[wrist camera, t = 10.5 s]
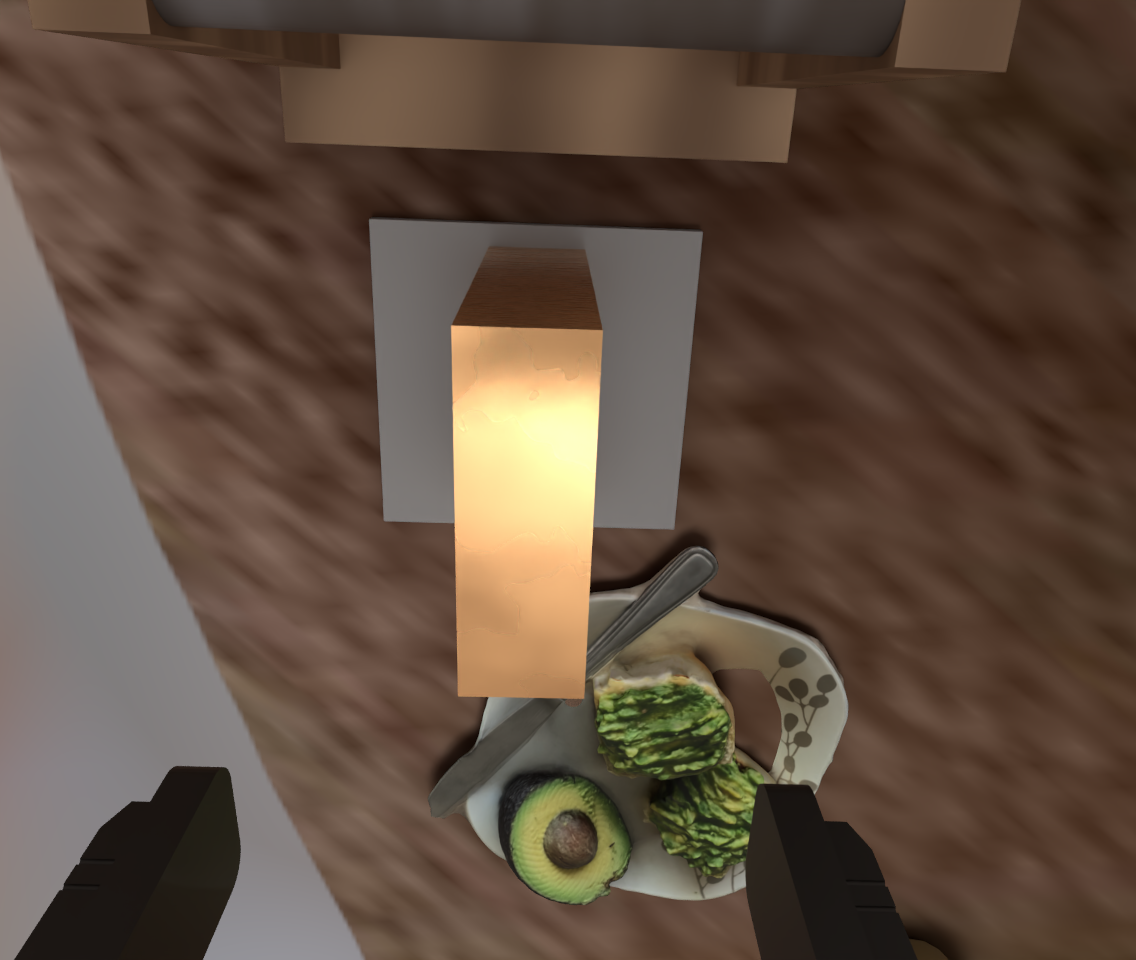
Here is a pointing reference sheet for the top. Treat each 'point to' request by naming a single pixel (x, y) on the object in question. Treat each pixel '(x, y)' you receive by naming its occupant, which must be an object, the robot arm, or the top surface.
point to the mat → (628, 366)
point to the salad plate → (646, 748)
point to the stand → (560, 64)
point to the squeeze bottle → (926, 951)
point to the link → (525, 471)
